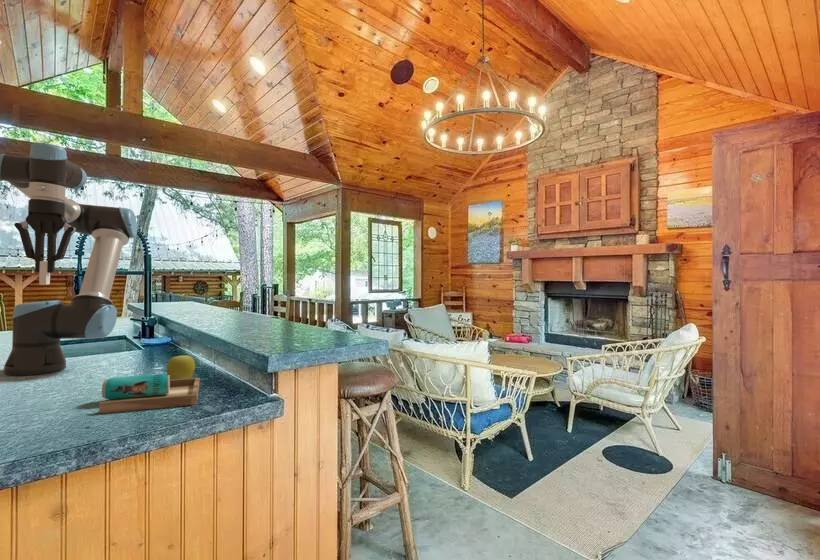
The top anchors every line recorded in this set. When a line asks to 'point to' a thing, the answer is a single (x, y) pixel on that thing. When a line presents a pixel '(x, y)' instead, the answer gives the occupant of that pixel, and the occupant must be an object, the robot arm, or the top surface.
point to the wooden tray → (157, 398)
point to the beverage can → (135, 386)
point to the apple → (181, 367)
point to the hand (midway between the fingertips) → (44, 284)
